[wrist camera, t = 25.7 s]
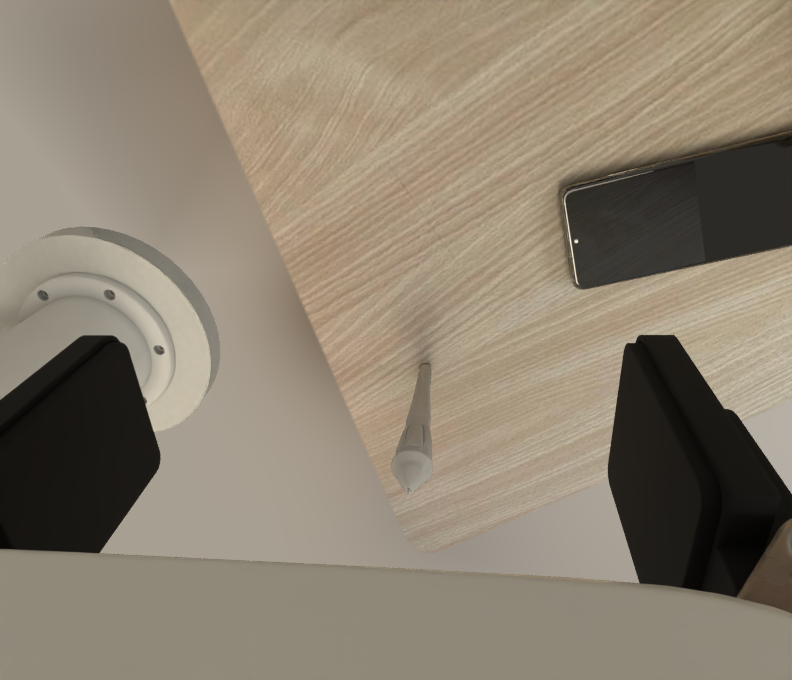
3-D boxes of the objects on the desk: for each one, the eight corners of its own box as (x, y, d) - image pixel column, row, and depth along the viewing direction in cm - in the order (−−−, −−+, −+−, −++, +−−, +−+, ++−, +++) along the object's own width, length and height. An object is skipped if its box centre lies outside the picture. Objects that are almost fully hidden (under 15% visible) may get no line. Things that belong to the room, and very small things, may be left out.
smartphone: (834, 238, 37) (574, 293, 40) (824, 233, 38) (571, 287, 41) (840, 119, 34) (558, 188, 37) (830, 116, 35) (555, 184, 38)
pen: (408, 380, 46) (386, 507, 34) (409, 351, 45) (387, 472, 33) (440, 383, 46) (429, 512, 34) (442, 353, 45) (432, 476, 33)
